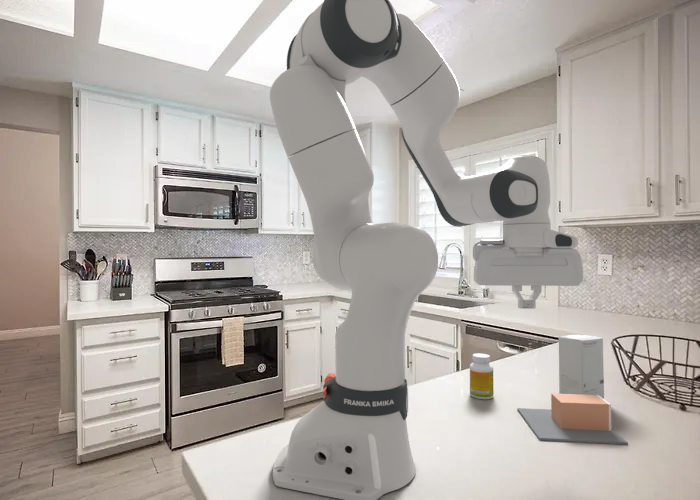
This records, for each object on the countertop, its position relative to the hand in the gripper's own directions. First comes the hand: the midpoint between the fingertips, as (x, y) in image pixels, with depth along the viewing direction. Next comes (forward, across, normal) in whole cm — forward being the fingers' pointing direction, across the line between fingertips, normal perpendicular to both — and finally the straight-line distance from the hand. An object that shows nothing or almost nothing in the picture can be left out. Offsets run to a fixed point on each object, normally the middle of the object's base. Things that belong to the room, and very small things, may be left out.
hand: (526, 308), depth 81 cm
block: (+20, +5, 0) cm, 21 cm away
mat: (+23, +8, 0) cm, 24 cm away
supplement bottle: (+23, -6, +15) cm, 28 cm away
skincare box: (+23, +16, +14) cm, 32 cm away
